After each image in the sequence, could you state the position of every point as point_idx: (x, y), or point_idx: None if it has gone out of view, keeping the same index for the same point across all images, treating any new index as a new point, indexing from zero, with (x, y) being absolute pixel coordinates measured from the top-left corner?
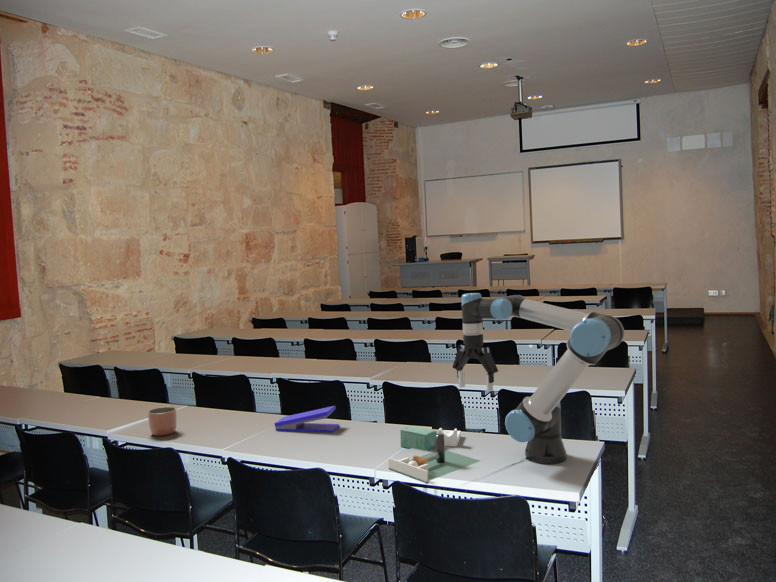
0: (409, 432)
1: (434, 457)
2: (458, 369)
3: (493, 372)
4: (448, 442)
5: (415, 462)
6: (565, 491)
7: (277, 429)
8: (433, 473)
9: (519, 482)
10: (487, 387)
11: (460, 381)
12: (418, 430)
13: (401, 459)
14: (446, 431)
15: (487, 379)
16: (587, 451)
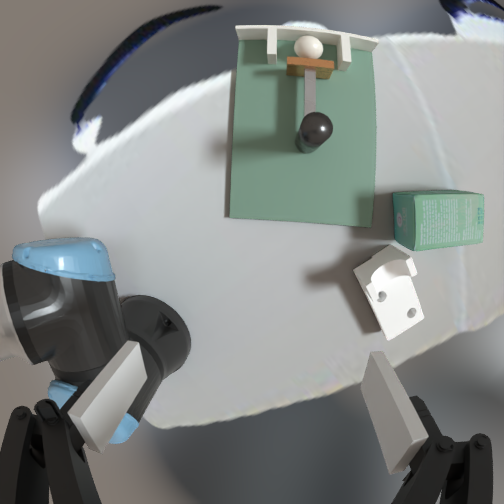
0: (460, 193)
1: (304, 110)
2: (430, 448)
3: (20, 408)
4: (374, 261)
5: (301, 43)
6: (45, 205)
7: None
8: (261, 73)
9: (101, 179)
10: (121, 357)
11: (383, 381)
12: (450, 217)
13: (347, 44)
14: (415, 315)
15: (89, 389)
16: None
